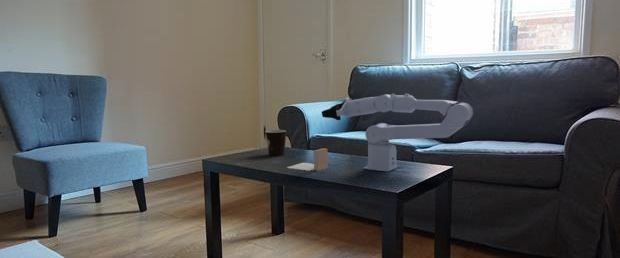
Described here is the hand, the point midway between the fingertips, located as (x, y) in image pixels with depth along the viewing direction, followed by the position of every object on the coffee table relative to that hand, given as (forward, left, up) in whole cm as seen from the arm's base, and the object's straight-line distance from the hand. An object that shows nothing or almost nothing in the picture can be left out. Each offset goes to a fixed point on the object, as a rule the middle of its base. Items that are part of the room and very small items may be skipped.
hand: (326, 112), depth 167 cm
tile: (-3, +9, -19) cm, 22 cm away
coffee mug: (+28, -4, -20) cm, 35 cm away
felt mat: (+4, +9, -19) cm, 22 cm away
